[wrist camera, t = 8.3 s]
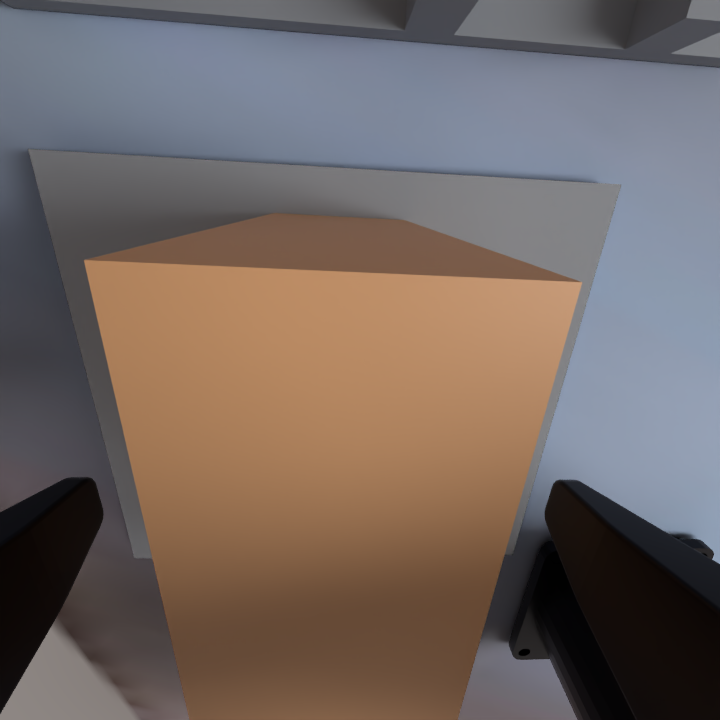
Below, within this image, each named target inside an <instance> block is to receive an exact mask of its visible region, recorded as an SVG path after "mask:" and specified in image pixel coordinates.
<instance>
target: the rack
mask: <svg viewBox="0 0 720 720" xmlns="http://www.w3.org/2000/svg"><path fill="white" fill-rule="evenodd" d="M0 1H2V2H4V3H6V4H7V5H9V6H11V7H12V8H19V9H31V10H43V11H55V12H67V13H79V14H91V15H103V16H115V17H127V18H139V19H151V20H163V21H175V22H187V23H199V24H211V25H223V26H235V27H247V28H258V29H270V30H282V31H294V32H306V33H318V34H330V35H342V36H354V37H366V38H378V39H390V40H402V41H414V42H426V43H438V44H450V45H462V46H474V47H486V48H497V49H509V50H521V51H533V52H545V53H557V54H569V55H581V56H593V57H605V58H617V59H629V60H641V61H653V62H665V63H677V64H689V65H701V66H713V67H720V0H0Z"/></svg>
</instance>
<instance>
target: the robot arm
mask: <svg viewBox="0 0 720 720" xmlns="http://www.w3.org/2000/svg"><path fill="white" fill-rule="evenodd" d="M102 520H103V507H102V504H101V500H100V497H99V493H98V490H97V486H96V483H95V481H94V480H93V479H92V478H88V477H71V478H66V479H63V480H61V481H60V482H58V483H56V484H54V485H52V486H50V487H48V488H46V489H44V490H42V491H40V492H38V493H37V494H35V495H33V496H31V497H29V498H27V499H25V500H23V501H21V502H19V503H17V504H15V505H14V506H12V507H10V508H8V509H6V510H4V511H2V512H0V713H1V712H2V710H3V708H4V707H5V705H6V703H7V701H8V700H9V698H10V696H11V694H12V693H13V691H14V689H15V688H16V686H17V684H18V682H19V681H20V679H21V677H22V676H23V674H24V672H25V670H26V669H27V667H28V665H29V663H30V662H31V660H32V659H33V657H34V655H35V653H36V652H37V650H38V648H39V647H40V645H41V643H42V641H43V640H44V638H45V636H46V635H47V633H48V631H49V629H50V628H51V626H52V624H53V622H54V621H55V619H56V617H57V615H58V613H59V612H60V610H61V608H62V606H63V604H64V602H65V600H66V598H67V596H68V594H69V592H70V590H71V588H72V586H73V584H74V581H75V579H76V577H77V575H78V573H79V571H80V569H81V566H82V564H83V562H84V560H85V558H86V556H87V554H88V552H89V549H90V547H91V545H92V543H93V541H94V539H95V537H96V534H97V532H98V530H99V528H100V526H101V523H102ZM545 520H546V524H547V526H548V529H549V531H550V534H551V536H552V539H553V541H549V542H547V543H545V544H544V545H543V546H542V547H541V548H540V550H539V553H538V556H537V559H536V562H535V565H534V568H533V571H532V574H531V577H530V580H529V583H528V586H527V589H526V592H525V595H524V598H523V601H522V604H521V607H520V610H519V613H518V616H517V619H516V622H515V625H514V628H513V631H512V634H511V637H510V641H509V647H510V650H511V652H512V655H513V657H514V658H516V659H520V660H529V659H550V660H551V662H552V665H553V667H554V669H555V671H556V673H557V676H558V678H559V680H560V682H561V684H562V687H563V689H564V691H565V693H566V695H567V698H568V700H569V702H570V704H571V706H572V708H573V711H574V713H575V715H576V717H577V719H578V720H720V564H719V563H717V562H715V561H713V560H712V558H713V556H714V553H713V551H712V550H711V549H710V548H709V547H708V546H707V545H706V544H705V543H704V542H703V541H701V540H697V539H676V538H675V537H673V536H671V535H669V534H668V533H666V532H664V531H663V530H661V529H659V528H658V527H656V526H654V525H653V524H651V523H649V522H647V521H646V520H644V519H642V518H641V517H639V516H637V515H636V514H634V513H632V512H631V511H629V510H627V509H626V508H624V507H622V506H620V505H619V504H617V503H615V502H614V501H612V500H610V499H609V498H607V497H605V496H604V495H602V494H600V493H598V492H597V491H595V490H593V489H592V488H590V487H588V486H587V485H585V484H583V483H582V482H580V481H577V480H557V481H556V482H555V483H554V484H553V486H552V489H551V493H550V496H549V499H548V502H547V505H546V508H545Z"/></svg>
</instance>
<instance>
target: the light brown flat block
mask: <svg viewBox="0 0 720 720" xmlns="http://www.w3.org/2000/svg"><path fill="white" fill-rule="evenodd" d="M84 263H85V267H86V272H87V276H88V281H89V285H90V289H91V294H92V298H93V302H94V307H95V311H96V315H97V320H98V324H99V328H100V333H101V337H102V341H103V346H104V350H105V354H106V359H107V363H108V368H109V372H110V376H111V381H112V385H113V389H114V394H115V398H116V402H117V407H118V411H119V415H120V420H121V424H122V428H123V433H124V437H125V441H126V446H127V450H128V454H129V459H130V463H131V468H132V472H133V476H134V481H135V485H136V489H137V494H138V498H139V502H140V507H141V511H142V515H143V520H144V524H145V528H146V533H147V537H148V541H149V546H150V550H151V555H152V559H153V563H154V568H155V572H156V576H157V581H158V585H159V589H160V594H161V598H162V602H163V607H164V611H165V615H166V620H167V624H168V628H169V633H170V637H171V642H172V646H173V650H174V655H175V659H176V663H177V668H178V672H179V676H180V681H181V685H182V689H183V694H184V698H185V702H186V707H187V711H188V715H189V720H458V716H459V713H460V709H461V706H462V702H463V699H464V695H465V692H466V688H467V685H468V681H469V678H470V674H471V671H472V667H473V664H474V660H475V657H476V653H477V650H478V646H479V643H480V639H481V636H482V632H483V629H484V625H485V622H486V618H487V615H488V611H489V608H490V604H491V601H492V597H493V594H494V590H495V587H496V583H497V580H498V576H499V573H500V569H501V566H502V562H503V559H504V555H505V552H506V548H507V545H508V541H509V538H510V534H511V531H512V527H513V524H514V520H515V517H516V513H517V510H518V506H519V503H520V499H521V496H522V492H523V489H524V485H525V482H526V478H527V474H528V471H529V467H530V464H531V460H532V457H533V453H534V450H535V446H536V443H537V439H538V436H539V432H540V429H541V425H542V422H543V418H544V415H545V411H546V408H547V404H548V401H549V397H550V394H551V390H552V387H553V383H554V380H555V376H556V373H557V369H558V366H559V362H560V359H561V355H562V352H563V348H564V345H565V341H566V338H567V334H568V331H569V327H570V324H571V320H572V317H573V313H574V310H575V306H576V303H577V299H578V296H579V292H580V289H581V285H582V282H580V281H577V280H575V279H572V278H569V277H566V276H563V275H560V274H557V273H555V272H552V271H549V270H546V269H543V268H540V267H537V266H535V265H532V264H529V263H526V262H523V261H520V260H517V259H515V258H512V257H509V256H506V255H503V254H500V253H497V252H495V251H492V250H489V249H486V248H483V247H480V246H477V245H474V244H472V243H469V242H466V241H463V240H460V239H457V238H454V237H452V236H449V235H446V234H443V233H440V232H437V231H434V230H432V229H429V228H426V227H423V226H420V225H417V224H414V223H412V222H409V221H406V220H394V219H376V218H357V217H339V216H321V215H302V214H284V213H272V214H268V215H264V216H260V217H256V218H252V219H248V220H244V221H240V222H236V223H232V224H228V225H224V226H220V227H216V228H212V229H208V230H203V231H199V232H195V233H191V234H187V235H183V236H179V237H175V238H171V239H167V240H163V241H159V242H155V243H151V244H147V245H143V246H139V247H135V248H131V249H127V250H123V251H119V252H114V253H110V254H106V255H102V256H98V257H94V258H90V259H86V260H84Z"/></svg>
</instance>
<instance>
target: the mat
mask: <svg viewBox="0 0 720 720" xmlns="http://www.w3.org/2000/svg"><path fill="white" fill-rule="evenodd" d="M28 151H29V155H30V159H31V163H32V167H33V170H34V174H35V178H36V182H37V186H38V190H39V194H40V197H41V201H42V205H43V209H44V213H45V217H46V220H47V224H48V228H49V232H50V236H51V240H52V243H53V247H54V251H55V255H56V259H57V263H58V267H59V270H60V274H61V278H62V282H63V286H64V290H65V293H66V297H67V301H68V305H69V309H70V313H71V316H72V320H73V324H74V328H75V332H76V336H77V340H78V343H79V347H80V351H81V355H82V359H83V363H84V366H85V370H86V374H87V378H88V382H89V386H90V389H91V393H92V397H93V401H94V405H95V409H96V413H97V416H98V420H99V424H100V428H101V432H102V436H103V439H104V443H105V447H106V451H107V455H108V459H109V462H110V466H111V470H112V474H113V478H114V482H115V486H116V489H117V493H118V497H119V501H120V505H121V509H122V512H123V516H124V520H125V524H126V528H127V532H128V536H129V539H130V543H131V547H132V551H133V555H134V558H152V555H151V550H150V546H149V541H148V537H147V533H146V528H145V524H144V520H143V515H142V511H141V507H140V502H139V498H138V494H137V489H136V485H135V481H134V476H133V472H132V468H131V463H130V459H129V454H128V450H127V446H126V441H125V437H124V433H123V428H122V424H121V420H120V415H119V411H118V407H117V402H116V398H115V394H114V389H113V385H112V381H111V376H110V372H109V368H108V363H107V359H106V354H105V350H104V346H103V341H102V337H101V333H100V328H99V324H98V320H97V315H96V311H95V307H94V302H93V298H92V294H91V289H90V285H89V281H88V276H87V272H86V267H85V263H84V260H86V259H90V258H94V257H98V256H102V255H106V254H110V253H114V252H119V251H123V250H127V249H131V248H135V247H139V246H143V245H147V244H151V243H155V242H159V241H163V240H167V239H171V238H175V237H179V236H183V235H187V234H191V233H195V232H199V231H203V230H208V229H212V228H216V227H220V226H224V225H228V224H232V223H236V222H240V221H244V220H248V219H252V218H256V217H260V216H264V215H268V214H272V213H284V214H302V215H321V216H339V217H357V218H376V219H394V220H406V221H409V222H412V223H414V224H417V225H420V226H423V227H426V228H429V229H432V230H434V231H437V232H440V233H443V234H446V235H449V236H452V237H454V238H457V239H460V240H463V241H466V242H469V243H472V244H474V245H477V246H480V247H483V248H486V249H489V250H492V251H495V252H497V253H500V254H503V255H506V256H509V257H512V258H515V259H517V260H520V261H523V262H526V263H529V264H532V265H535V266H537V267H540V268H543V269H546V270H549V271H552V272H555V273H557V274H560V275H563V276H566V277H569V278H572V279H575V280H577V281H580V282H582V285H581V289H580V292H579V296H578V299H577V303H576V306H575V310H574V313H573V317H572V320H571V324H570V327H569V331H568V334H567V338H566V341H565V345H564V348H563V352H562V355H561V359H560V362H559V366H558V369H557V373H556V376H555V380H554V383H553V387H552V390H551V394H550V397H549V401H548V404H547V408H546V411H545V415H544V418H543V422H542V425H541V429H540V432H539V436H538V439H537V443H536V446H535V450H534V453H533V457H532V460H531V464H530V467H529V471H528V474H527V478H526V482H525V485H524V489H523V492H522V496H521V499H520V503H519V506H518V510H517V513H516V517H515V520H514V524H513V527H512V531H511V534H510V538H509V541H508V545H507V548H506V552H505V555H513V552H514V549H515V545H516V542H517V538H518V535H519V532H520V528H521V525H522V521H523V518H524V515H525V511H526V508H527V504H528V501H529V498H530V494H531V491H532V487H533V484H534V480H535V477H536V474H537V470H538V467H539V463H540V460H541V457H542V453H543V450H544V446H545V443H546V440H547V436H548V433H549V429H550V426H551V423H552V419H553V416H554V412H555V409H556V406H557V402H558V399H559V395H560V392H561V388H562V385H563V382H564V378H565V375H566V371H567V368H568V365H569V361H570V358H571V354H572V351H573V348H574V344H575V341H576V337H577V334H578V331H579V327H580V324H581V320H582V317H583V314H584V310H585V307H586V303H587V300H588V296H589V293H590V290H591V286H592V283H593V279H594V276H595V273H596V269H597V266H598V262H599V259H600V256H601V252H602V249H603V245H604V242H605V239H606V235H607V232H608V228H609V225H610V222H611V218H612V215H613V211H614V208H615V205H616V201H617V198H618V194H619V191H620V187H621V185H619V184H602V183H585V182H569V181H552V180H535V179H519V178H502V177H485V176H469V175H452V174H436V173H419V172H402V171H386V170H369V169H352V168H336V167H319V166H302V165H286V164H269V163H253V162H236V161H219V160H203V159H186V158H169V157H153V156H136V155H119V154H103V153H86V152H69V151H53V150H36V149H28Z"/></svg>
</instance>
